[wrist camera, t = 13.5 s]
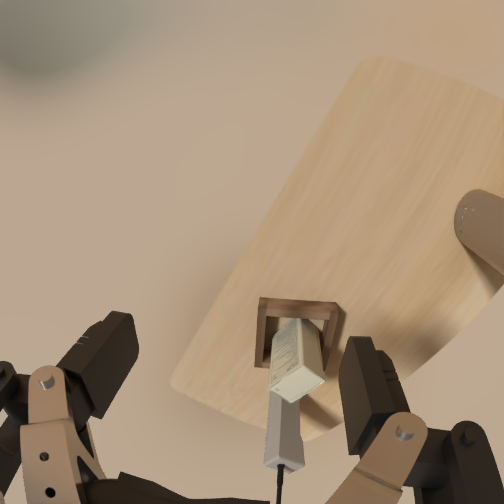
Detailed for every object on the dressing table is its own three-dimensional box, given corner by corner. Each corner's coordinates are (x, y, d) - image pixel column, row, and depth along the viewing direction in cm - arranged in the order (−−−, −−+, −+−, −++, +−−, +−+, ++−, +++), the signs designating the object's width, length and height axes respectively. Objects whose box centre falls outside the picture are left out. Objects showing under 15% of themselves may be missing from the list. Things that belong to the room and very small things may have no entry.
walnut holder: (335, 302, 43) (338, 313, 40) (323, 359, 47) (324, 371, 44) (259, 297, 44) (258, 308, 41) (256, 355, 48) (254, 367, 45)
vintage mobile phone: (291, 400, 52) (286, 517, 28) (270, 390, 51) (257, 511, 28) (303, 390, 50) (304, 512, 27) (282, 379, 50) (274, 506, 27)
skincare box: (290, 349, 47) (290, 405, 36) (271, 334, 46) (266, 390, 35) (319, 327, 45) (326, 382, 34) (299, 310, 44) (302, 365, 33)
